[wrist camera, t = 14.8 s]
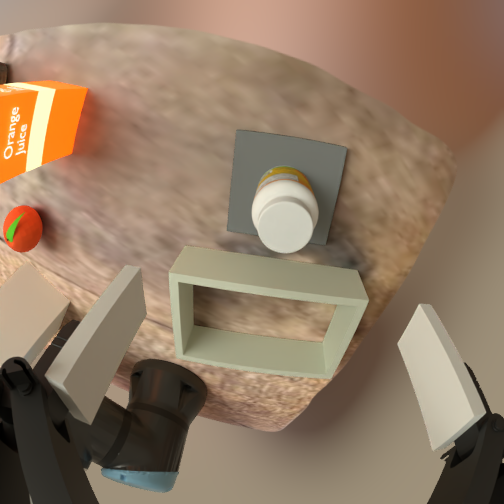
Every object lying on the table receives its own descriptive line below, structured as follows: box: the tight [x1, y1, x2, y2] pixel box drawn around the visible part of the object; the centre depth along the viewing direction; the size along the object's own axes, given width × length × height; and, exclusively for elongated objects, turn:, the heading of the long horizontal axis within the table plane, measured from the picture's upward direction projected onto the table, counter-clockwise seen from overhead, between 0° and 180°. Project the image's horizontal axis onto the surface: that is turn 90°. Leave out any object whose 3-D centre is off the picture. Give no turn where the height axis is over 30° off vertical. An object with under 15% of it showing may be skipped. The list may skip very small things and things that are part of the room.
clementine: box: [3, 206, 42, 252], centre depth 30 cm, size 8×7×7 cm
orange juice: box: [0, 81, 88, 184], centre depth 17 cm, size 8×9×20 cm
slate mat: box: [227, 130, 347, 245], centre depth 28 cm, size 11×11×1 cm
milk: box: [0, 260, 70, 368], centre depth 30 cm, size 12×12×26 cm
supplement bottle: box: [252, 166, 319, 253], centre depth 24 cm, size 5×5×10 cm
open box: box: [169, 245, 369, 379], centre depth 34 cm, size 14×21×6 cm, turn 83°
